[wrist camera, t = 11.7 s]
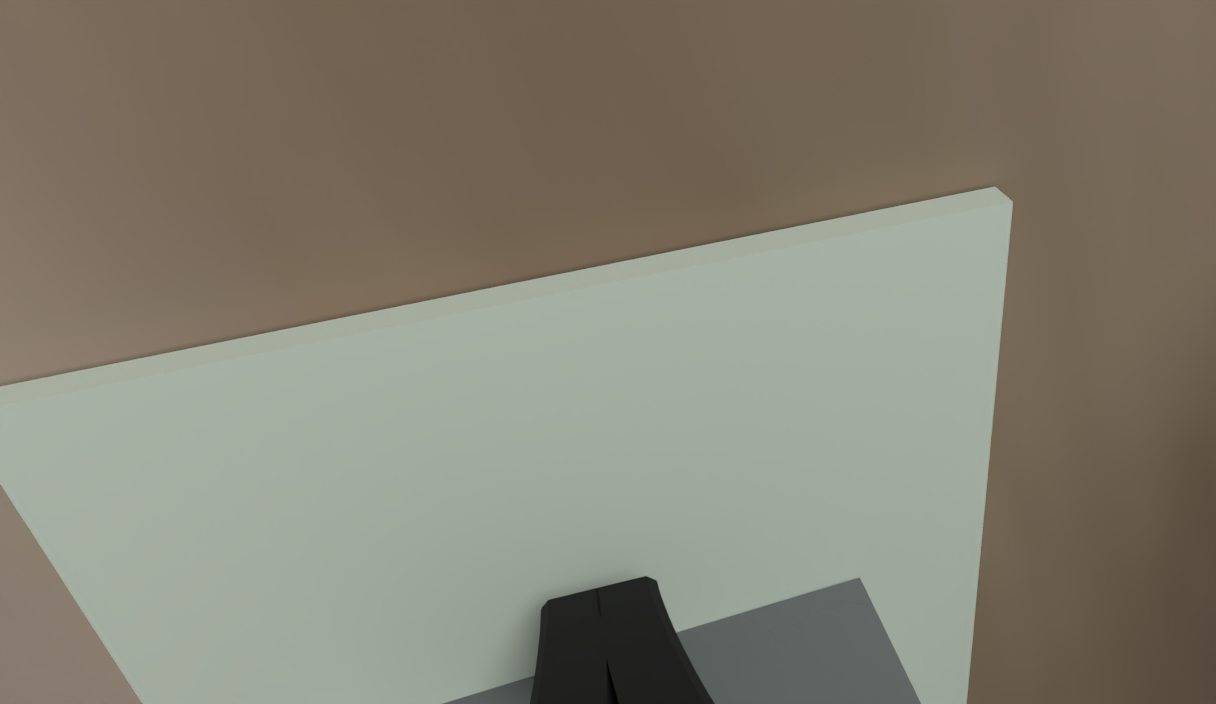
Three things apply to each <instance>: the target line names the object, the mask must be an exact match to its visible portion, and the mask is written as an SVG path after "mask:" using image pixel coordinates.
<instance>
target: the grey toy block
mask: <svg viewBox="0 0 1216 704" xmlns="http://www.w3.org/2000/svg"><path fill="white" fill-rule="evenodd" d="M677 635H678V637H679V640H680V642H681V644H682V646H683V648H684V650H685V651H686V653H687V655H688V657H689V659H690V661H691V663H692V665H693V667H694V669H695V671H696V673H697V674H698V676H699V678H700V680H701V681H702V683H703V685H704V687H705V688H706V690H707V692H708V694H709V695H710V697H711V698H712V700H713V702H714V703H715V704H921V702H920V700H919V698H918V696H917V694H916V692H915V690H914V688H913V686H912V684H911V682H910V680H909V678H908V676H907V674H906V672H905V669H904V667H903V665H902V663H901V661H900V659H899V657H898V655H897V653H896V651H895V649H894V647H893V645H892V643H891V641H890V639H889V637H888V634H887V632H886V630H885V628H884V626H883V624H882V622H881V620H880V618H879V616H878V614H877V612H876V610H875V608H874V606H873V604H872V602H871V599H870V597H869V595H868V593H867V591H866V589H865V587H864V585H863V583H862V581H861V579H860V578H856V579H853V580H850V581H846V582H843V583H840V584H836V585H833V586H830V587H826V588H823V589H820V590H816V591H813V592H810V593H806V594H803V595H800V596H796V597H793V598H790V599H786V600H783V601H780V602H776V603H773V604H770V605H766V606H763V607H760V608H756V609H753V610H750V611H746V612H743V613H740V614H737V615H733V616H730V617H727V618H723V619H720V620H717V621H713V622H710V623H707V624H703V625H700V626H697V627H693V628H690V629H687V630H683V631H680V632H677ZM533 682H534V676H531V677H528V678H525V679H521V680H518V681H515V682H512V683H508V684H505V685H502V686H498V687H495V688H492V689H489V690H485V691H482V692H479V693H476V694H472V695H469V696H466V697H462V698H459V699H456V700H453V701H449V702H446V703H443V704H530V700H531V694H532V688H533Z"/></svg>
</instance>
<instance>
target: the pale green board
mask: <svg viewBox="0 0 1216 704" xmlns="http://www.w3.org/2000/svg"><path fill="white" fill-rule="evenodd" d="M1012 206H1013V202H1012V201H1011V200H1010V199H1009V198H1008V197H1007V196H1005V195H1004V194H1003V193H1002V192H1001V191H999V190H998V189H997V188H996V187H991V188H986V189H981V190H976V191H971V192H966V193H961V194H956V195H951V196H946V197H941V198H936V199H931V200H926V201H921V202H916V203H911V204H906V205H901V206H896V207H891V208H886V209H881V210H876V211H871V212H866V213H861V214H856V215H851V216H846V217H841V218H836V219H831V220H826V221H821V222H817V223H812V224H807V225H802V226H797V227H792V228H787V229H782V230H777V231H772V232H767V233H762V234H757V235H752V236H747V237H742V238H737V239H732V240H727V241H722V242H717V243H712V244H707V245H702V246H697V247H692V248H687V249H682V250H677V251H672V252H667V253H662V254H657V255H652V256H647V257H642V258H637V259H632V260H627V261H622V262H618V263H613V264H608V265H603V266H598V267H593V268H588V269H583V270H578V271H573V272H568V273H563V274H558V275H553V276H548V277H543V278H538V279H533V280H528V281H523V282H518V283H513V284H508V285H503V286H498V287H493V288H488V289H483V290H478V291H473V292H468V293H463V294H458V295H453V296H448V297H443V298H438V299H433V300H428V301H423V302H419V303H414V304H409V305H404V306H399V307H394V308H389V309H384V310H379V311H374V312H369V313H364V314H359V315H354V316H349V317H344V318H339V319H334V320H329V321H324V322H319V323H314V324H309V325H304V326H299V327H294V328H289V329H284V330H279V331H274V332H269V333H264V334H259V335H254V336H249V337H244V338H239V339H234V340H229V341H225V342H220V343H215V344H210V345H205V346H200V347H195V348H190V349H185V350H180V351H175V352H170V353H165V354H160V355H155V356H150V357H145V358H140V359H135V360H130V361H125V362H120V363H115V364H110V365H105V366H100V367H95V368H90V369H85V370H80V371H75V372H70V373H65V374H60V375H55V376H50V377H45V378H40V379H35V380H30V381H26V382H21V383H16V384H11V385H6V386H1V387H0V484H1V486H2V487H3V489H4V490H5V492H6V494H7V495H8V497H9V498H10V500H11V501H12V503H13V504H14V506H15V508H16V509H17V511H18V512H19V514H20V515H21V517H22V518H23V520H24V521H25V523H26V525H27V526H28V528H29V529H30V531H31V532H32V534H33V535H34V537H35V538H36V540H37V542H38V543H39V545H40V546H41V548H42V549H43V551H44V552H45V554H46V555H47V557H48V559H49V560H50V562H51V563H52V565H53V566H54V568H55V569H56V571H57V572H58V574H59V576H60V577H61V579H62V580H63V582H64V583H65V585H66V586H67V588H68V589H69V591H70V593H71V594H72V596H73V597H74V599H75V600H76V602H77V603H78V605H79V607H80V608H81V610H82V611H83V613H84V614H85V616H86V617H87V619H88V620H89V622H90V624H91V625H92V627H93V628H94V630H95V631H96V633H97V634H98V636H99V637H100V639H101V641H102V642H103V644H104V645H105V647H106V648H107V650H108V651H109V653H110V654H111V656H112V658H113V659H114V661H115V662H116V664H117V665H118V667H119V668H120V670H121V671H122V673H123V675H124V676H125V678H126V679H127V681H128V682H129V684H130V685H131V687H132V688H133V690H134V692H135V693H136V695H137V696H138V698H139V699H140V701H141V702H142V704H443V703H446V702H449V701H453V700H456V699H459V698H462V697H466V696H469V695H472V694H476V693H479V692H482V691H485V690H489V689H492V688H495V687H498V686H502V685H505V684H508V683H512V682H515V681H518V680H521V679H525V678H528V677H531V676H535V669H536V662H537V654H538V645H539V635H540V621H541V608H542V607H543V606H544V604H545V603H546V602H547V601H548V600H550V599H554V598H558V597H562V596H566V595H570V594H574V593H578V592H582V591H586V590H590V589H595V588H599V587H603V586H607V585H611V584H615V583H619V582H623V581H627V580H631V579H635V578H640V577H644V576H648V577H650V578H652V579H654V580H657V583H658V587H659V590H660V594H661V597H662V599H663V602H664V605H665V607H666V610H667V613H668V615H669V618H670V620H671V622H672V625H673V627H674V629H675V631H676V633H677V632H680V631H683V630H687V629H690V628H693V627H697V626H700V625H703V624H707V623H710V622H713V621H717V620H720V619H723V618H727V617H730V616H733V615H737V614H740V613H743V612H746V611H750V610H753V609H756V608H760V607H763V606H766V605H770V604H773V603H776V602H780V601H783V600H786V599H790V598H793V597H796V596H800V595H803V594H806V593H810V592H813V591H816V590H820V589H823V588H826V587H830V586H833V585H836V584H840V583H843V582H846V581H850V580H853V579H856V578H860V579H861V581H862V583H863V585H864V587H865V589H866V591H867V593H868V595H869V597H870V599H871V602H872V604H873V606H874V608H875V610H876V612H877V614H878V616H879V618H880V620H881V622H882V624H883V626H884V628H885V630H886V632H887V634H888V637H889V639H890V641H891V643H892V645H893V647H894V649H895V651H896V653H897V655H898V657H899V659H900V661H901V663H902V665H903V667H904V669H905V672H906V674H907V676H908V678H909V680H910V682H911V684H912V686H913V688H914V690H915V692H916V694H917V696H918V698H919V700H920V702H921V704H967V694H968V683H969V672H970V661H971V650H972V639H973V629H974V618H975V607H976V596H977V585H978V574H979V564H980V553H981V542H982V531H983V520H984V509H985V498H986V488H987V477H988V466H989V455H990V444H991V433H992V423H993V412H994V401H995V390H996V379H997V368H998V358H999V347H1000V336H1001V325H1002V314H1003V303H1004V292H1005V282H1006V271H1007V260H1008V249H1009V238H1010V227H1011V217H1012Z"/></svg>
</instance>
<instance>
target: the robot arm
mask: <svg viewBox="0 0 1216 704" xmlns="http://www.w3.org/2000/svg"><path fill="white" fill-rule="evenodd" d="M530 704H715V703H714V702H713V700H712V698H711V697H710V695H709V694H708V692H707V690H706V688H705V687H704V685H703V683H702V681H701V680H700V678H699V676H698V674H697V673H696V671H695V669H694V667H693V665H692V663H691V661H690V659H689V657H688V655H687V653H686V651H685V650H684V648H683V646H682V644H681V642H680V640H679V637H678V635H677V633H676V631H675V629H674V627H673V625H672V622H671V620H670V618H669V615H668V613H667V610H666V607H665V605H664V602H663V599H662V597H661V594H660V590H659V587H658V583H657V580H654V579H652V578H650V577H648V576H644V577H640V578H635V579H631V580H627V581H623V582H619V583H615V584H611V585H607V586H603V587H599V588H595V589H590V590H586V591H582V592H578V593H574V594H570V595H566V596H562V597H558V598H554V599H550V600H548V601H547V602H546V603H545V604H544V606H543V607H542V608H541V621H540V635H539V645H538V654H537V662H536V669H535V676H534V682H533V688H532V694H531V700H530Z"/></svg>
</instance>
